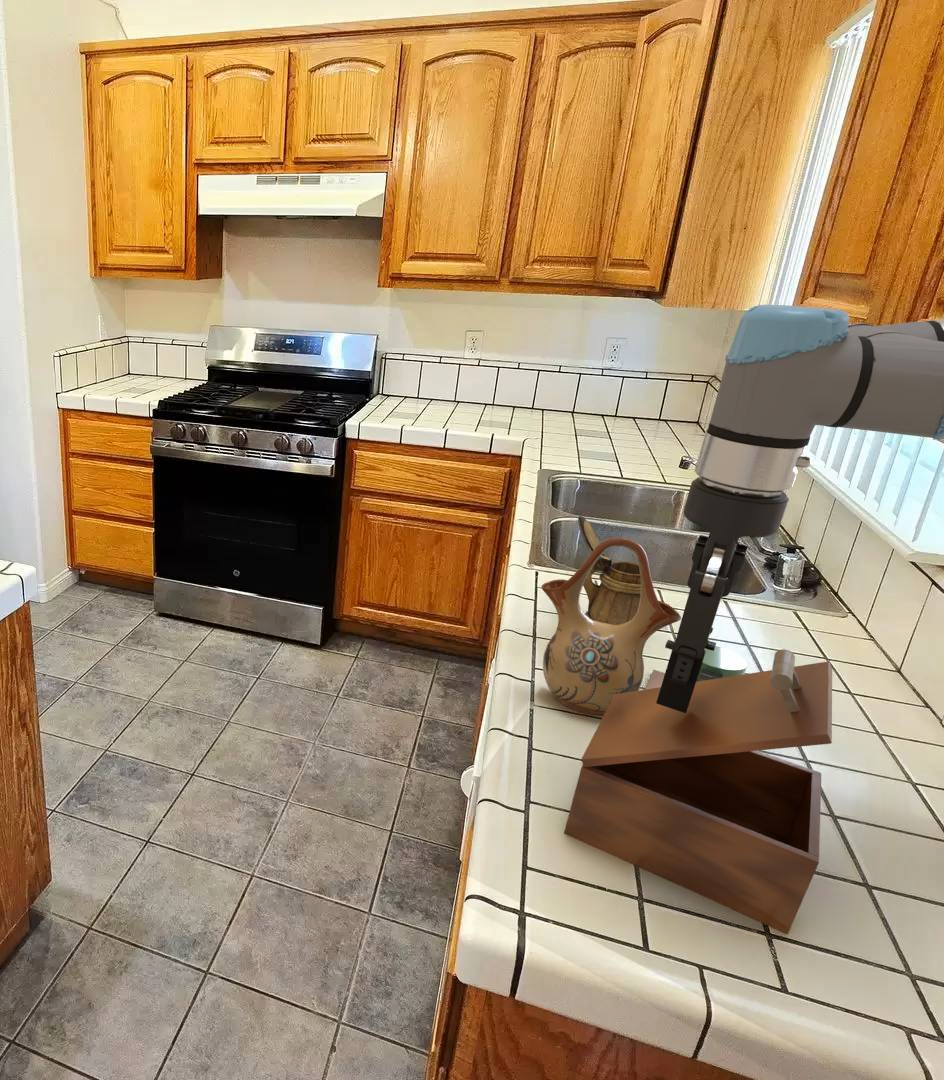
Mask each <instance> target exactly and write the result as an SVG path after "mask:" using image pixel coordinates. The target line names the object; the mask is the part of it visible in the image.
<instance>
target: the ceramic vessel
mask: <svg viewBox="0 0 944 1080" xmlns="http://www.w3.org/2000/svg"><path fill="white" fill-rule="evenodd" d="M612 547H623V548H626V549H628V550H630V551H632V552H633V553H634V554H635V556H636V559H637V564H639V569H640V577H641V596H640V603H639V607H638V611H637V613H636V615H635V616H634V618H633V619H631V620H630V621H628V622H626V623H624V624H620V625H611V624H607V623H602V622H599V621H595V620H592V619H590V618H589V617H587V616H586V615H585V612H584V611H583V609H582V608H581V604H580V597H581V593H582V590H583V588H584V586H583V584H584V582H585V579H586V577H587V575H588V574H589V572H590V570H591V569H592V567H593V566H594V564H595V563H596V561H597V560H598V559H599V557H600V556H601V555H602V554H604V553H605V552H606V551H607V550H608V549H609V548H612ZM540 588H541V590H542V591H543V593H545V595H546V596H547V597H548V598H549V600H550V601H551V603H552V605H553V606H554V609H555V611H556V613H557V627H556V630H555V632H554V633H553V635H552V636H551V638H550V639H549V641H548V642H547V644H546V645H545V649H544V653H543V657H542V671H543V672H542V673H543V677H544V681H545V683H546V685H547V688H548V689H549V691H550V693H551V694H552V695H553V696H554V698H556V700H557V701H558V702H559V703H560V704H562V705H564V706H565V707H568V708H569V709H572V710H573V711H577V712H580V713H584V714H588V715H595V716H604V714H605V712H606V710H607V708H608V706H609V704H610V703H611V701H612V699H613V697H614V695H615V694H620V693H627V692H633V691H640V688H641V686H642V683H643V680H644V674H645V662H644V654H643V653H644V649H645V645H646V643H647V641H648V639H650V638H651V636H652V635H654V634H655V633H657V632H658V631H659V630H661V629H663V628H665V627H668V626H669V625H672V624H675V623H677V622H679V621H681V620H682V616H681V615H680V613H679V612H678V611H677V610H676V609H675V608H674V607H672V605H670V604H668V603H666V602H664V601H662V600H659V599H658V597H657V595H656V592H655V587H654V583H653V579H652V574H651V568H650V563H649V559H648V556H647V553H646V551H645V549H644V548H643V547H642V546H641V545H640V544H639V543H638V542H636V541H634V540H632V539H630V538H627V537H612V538H610V537H609V538H607V539H605V540H603V541H600V544H599V545H598V546H597V547H596V548H595V549H594V550H593V551H592V553H590V554H589V555H588V556H587V558H586V559H585V560H584V561H583V563H582V564H581V566H579V568H578V569H577V570H576V571H575V573H574V574H573V575H572V576H571V577H569V578H568V579H563V578H561V579H560V578H559V579H552V580H550V581H545V582H544V583H543V584H542V585H541V586H540Z"/></svg>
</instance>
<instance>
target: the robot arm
mask: <svg viewBox="0 0 944 1080" xmlns="http://www.w3.org/2000/svg"><path fill="white" fill-rule="evenodd" d="M849 323H850V315H849V314H848V312H846V311H844V310H842V309H837V308H835V309H834V308H826V307H825V308H824V307H815V306H814V307H813V306H812V307H810V306H800V305H786V304H759V305H755V306H752V307H750V308H749V309H747V310H746V311H745V312H744V313H743V314H742V316H741V318H740V320H739V323H738V325H737V328H736V331H735V334H734V337H733V339H732V342H731V345H730V348H729V351H728V353H727V354H726V355H725V358H724V362H725V364H724V368H723V371H722V376H721V380H720V382H719V386H718V390H717V393H716V397H715V401H714V405H713V407H712V408H713V409H712V413H711V416H710V420H709V424H708V427H707V429H705V431H704V435H703V439H702V442H701V445H700V449H699V453H698V456H697V459H696V460H697V461H696V463H695V466H694V472H695V473H696V475H697V477H696V478H695V479H693V480H692V481H691V483H690V487H689V490H688V494H687V497H686V501H685V504H684V507H683V515H684V517H685V519H687V521H689V522H691V524H694V525H695V526H697V527H702V528H704V529H706V530H707V531H708V532H709V534H708V535H703V534H699V538H698V540H697V541H696V542H695V546H694V549H693V552H692V554H691V555H692V556H691V561H692V566H691V569H690V573H689V576H688V579H687V584H686V585H687V587H688V588H689V592H688V596H687V599H686V603H685V606H684V609H683V613H682V616H681V620H680V624H679V626H678V631H677V633H676V637H675V641H674V640H671V639H667V641H666V643H665V646H664V648H665V649H667V650H671V652H670V656H669V660H668V663H667V665H666V669H665V671H664V673H665V675H664V679H663V682H662V685H661V688H660V692H659V695H658V698H657V702H656V704H659V705H662V706H665V707H668V708H671V709H674V710H677V711H680V712H683V713H686V712H687V709H688V706H689V703H690V699H691V696H692V693H693V690H694V687H695V684H696V681H697V678H698V675H699V672H700V668H701V665H702V662H703V659H704V656H705V653H706V651H705V649H708V650H712V651H714V649H715V646H717V642H714V641H711V640H709V637H710V635H711V634H713V630H714V628H713V625H714V622H715V619H716V615H717V612H718V610H719V607H720V603H721V600H722V599H723V598H725V597H727V596H729V595H730V593H731V590H732V586H733V583H734V580H735V577H736V574H737V573H738V572H740V571H741V569H742V567H743V563H744V560H745V557H746V553H747V551H748V550H747V549H748V547H749V545H747V544H744V543H741V542H740V538H745V537H750V538H751V539H760V538H761V539H763V538H768V537H772V536H775V535H776V534H777V533H778V531H779V530H780V527H781V524H782V522H783V519H784V516H785V512H786V509H787V507H788V504H789V501H790V498H789V497H788V495H787V493H786V492H787V491H789V490H791V489H793V486H794V484H795V481H796V478H797V474H798V468H800V469H807V468H809V467H810V465H811V458H810V457H808V456H802V455H803V454H804V453H805V451H806V448H807V446H809V443H810V440H811V435H812V433H813V431H814V429H815V427H816V426H822V427H828V428H842V429H852V430H861V431H869V432H879V433H886V434H895V435H904V436H913V437H920V438H921V437H922V438H929V439H932V441H941V440H944V318H937V319H932V320H926V321H925V320H924V321H923V320H921V321H910V322H901V323H900V322H899V323H892V324H883V325H873V324H869V323H863V322H862V323H861V322H859V323H853V324H852V323H850V324H849Z"/></svg>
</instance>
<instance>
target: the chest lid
mask: <svg viewBox="0 0 944 1080" xmlns="http://www.w3.org/2000/svg"><path fill="white" fill-rule="evenodd" d="M795 662H796V656H795V653H794V652H793V651H791V650H789V649H786V648H785V649H784V648H781V649H778V650H777V651H775V652H774V655H773V662H772V668H771V669H770V670H764V671H758V672H751V673H745V674H743V675H737V676H730V677H724V678H717V679H711V680H704V681H698V682H696V684H695V687H694V690H693V693H692V696H691V699H690V703H689V706H688V709H687V712H686V713H683V712H680V711H677V710H674V709H671V708H668V707H665V706H662V705H659V704H656V702H657V698H658V695H659V692H660V688H661V687H659V688H653V689H646V690H645V689H639V690H638V691H633V692H627V693H620V694H615V695H614V697H613V699H612V701H611V703H610V704H609V706H608V708H607V710H606V712H605V714H604V715H602V718H601V720H600V721H599V724H598V725H597V728H596V729H595V732H594V734H593V736H592V737H591V739H590V741H589V743H588V746H587V747H586V749H585V751H584V753H583V755H582V757H581V758H580V761H581V763H582V765H584V767H589V766H600V765H610V764H621V763H631V762H642V761H653V760H663V759H674V758H684V757H695V756H706V755H716V754H727V753H737V752H748V751H767V750H779V749H780V750H781V749H788V748H799V747H812V746H821V745H822V746H823V745H831V744H833V743H832V742H833V736H832V735H833V667H832V664H831V662H830V661H820V662H816V663H808V664H803V665H795V664H796V663H795Z"/></svg>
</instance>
